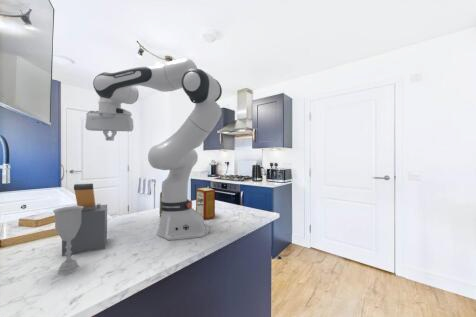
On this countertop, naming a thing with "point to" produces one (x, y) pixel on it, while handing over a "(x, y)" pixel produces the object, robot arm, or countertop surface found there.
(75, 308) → the countertop surface
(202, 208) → the baking soda box
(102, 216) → the box
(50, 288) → the countertop surface
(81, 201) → the lever
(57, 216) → the chalice
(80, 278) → the countertop surface
